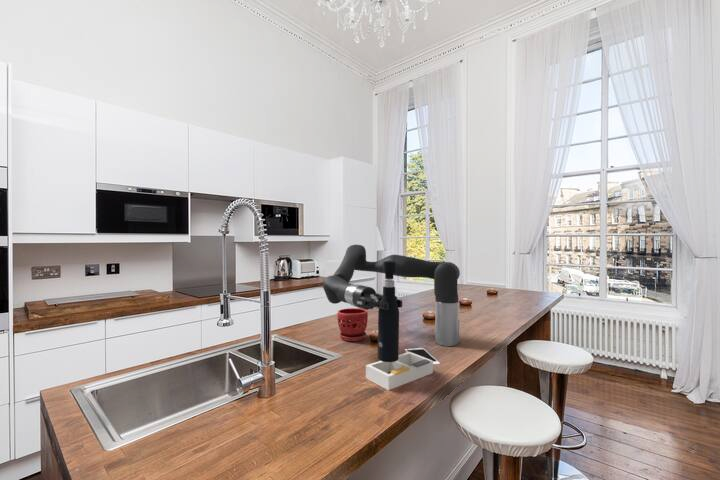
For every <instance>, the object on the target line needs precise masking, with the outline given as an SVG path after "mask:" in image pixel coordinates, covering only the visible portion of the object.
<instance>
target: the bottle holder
mask: <svg viewBox="0 0 720 480" xmlns="http://www.w3.org/2000/svg"><path fill="white" fill-rule="evenodd" d="M433 373H434V365H433V361H432V360H430V359H427V358H425V357H422V356H419V355H417V354H414V353H411V352H405V353H404V352H403V353H401V354H399V355H398V360H397V361H395V362H383V361H380V360H378V361H374V362H372V363H369V364H366V365H365V379H367V380H368V381H371V382H373V383H374V384H376V385H378V386H380V387H382V388H383V389H385V390H388V391H390V390H393V389H396V388H398V387H401V386H403V385H406V384H408V383H410V382H413V381H417V380H418V379H421V378H423V377H426V376H428V375H432V374H433Z"/></svg>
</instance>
